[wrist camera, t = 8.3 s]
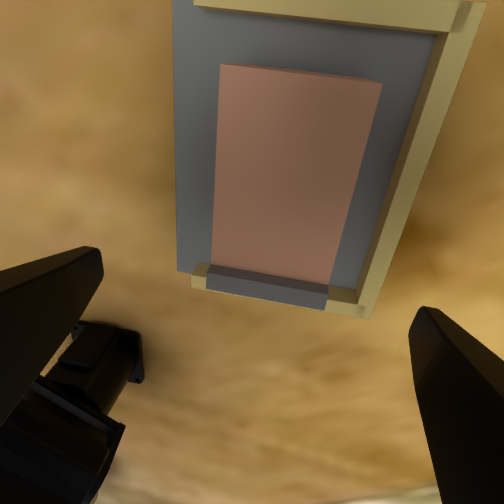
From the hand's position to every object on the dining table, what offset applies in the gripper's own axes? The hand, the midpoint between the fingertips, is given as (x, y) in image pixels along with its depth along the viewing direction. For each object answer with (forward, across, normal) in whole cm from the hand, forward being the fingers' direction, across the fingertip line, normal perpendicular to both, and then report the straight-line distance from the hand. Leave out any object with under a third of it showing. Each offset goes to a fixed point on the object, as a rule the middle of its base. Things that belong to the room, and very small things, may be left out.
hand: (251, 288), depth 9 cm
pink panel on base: (+11, 0, 0) cm, 11 cm away
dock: (+13, 0, 0) cm, 13 cm away
